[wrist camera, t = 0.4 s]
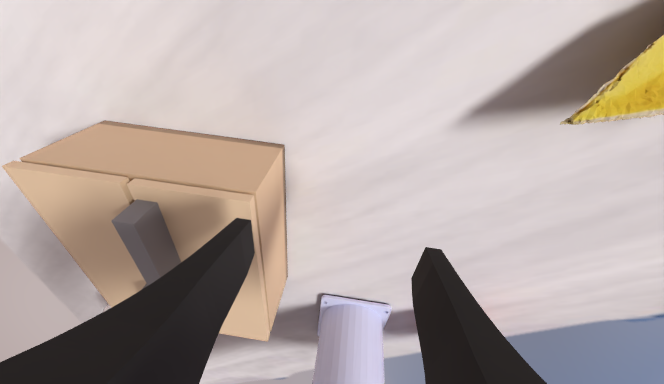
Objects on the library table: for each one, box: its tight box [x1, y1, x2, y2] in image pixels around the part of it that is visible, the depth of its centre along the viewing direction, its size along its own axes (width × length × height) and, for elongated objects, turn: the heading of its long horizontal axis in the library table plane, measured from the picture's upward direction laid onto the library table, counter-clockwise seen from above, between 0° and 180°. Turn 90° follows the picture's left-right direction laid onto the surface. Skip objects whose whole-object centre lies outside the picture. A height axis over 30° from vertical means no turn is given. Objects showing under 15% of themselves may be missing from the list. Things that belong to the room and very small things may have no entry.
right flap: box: [111, 178, 270, 342], centre depth 18 cm, size 16×7×2 cm, turn 175°
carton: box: [20, 121, 288, 331], centre depth 22 cm, size 16×14×6 cm
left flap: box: [2, 161, 148, 308], centre depth 18 cm, size 16×7×2 cm, turn 175°
